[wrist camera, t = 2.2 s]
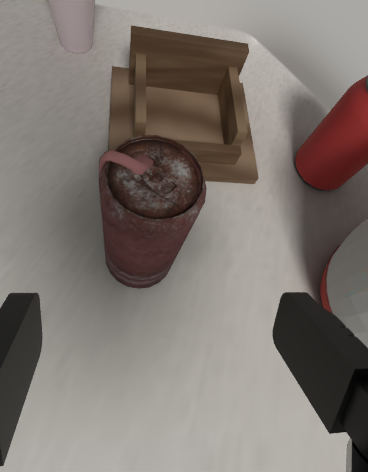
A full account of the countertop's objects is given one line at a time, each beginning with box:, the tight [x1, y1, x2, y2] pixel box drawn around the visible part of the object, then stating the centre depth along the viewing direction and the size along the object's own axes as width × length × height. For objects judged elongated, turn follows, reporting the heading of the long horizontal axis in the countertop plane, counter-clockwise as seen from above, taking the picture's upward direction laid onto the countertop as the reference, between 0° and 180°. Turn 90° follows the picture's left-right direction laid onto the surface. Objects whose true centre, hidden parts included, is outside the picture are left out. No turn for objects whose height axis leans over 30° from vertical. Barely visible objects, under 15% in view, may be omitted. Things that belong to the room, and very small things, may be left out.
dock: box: [108, 26, 258, 184], centre depth 34 cm, size 14×16×7 cm
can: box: [99, 135, 206, 288], centre depth 23 cm, size 6×6×14 cm
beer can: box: [295, 76, 368, 190], centre depth 33 cm, size 7×7×12 cm
